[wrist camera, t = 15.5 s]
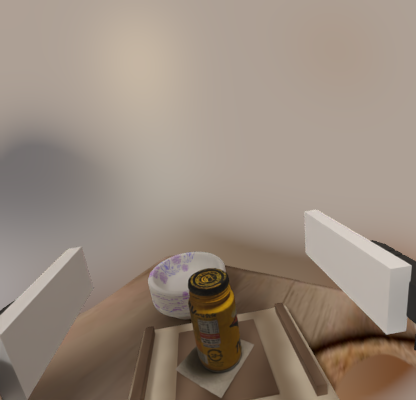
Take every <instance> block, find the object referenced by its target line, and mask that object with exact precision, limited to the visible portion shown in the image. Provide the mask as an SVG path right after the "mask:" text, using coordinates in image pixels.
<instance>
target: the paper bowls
mask: <svg viewBox="0 0 416 400" xmlns="http://www.w3.org/2000/svg"><path fill="white" fill-rule="evenodd" d="M207 268H217V269H221V270H223V271H224V272H226V269H225V264H224V262H223V261H222V260H221V258H219V257H218V256H216V255H214V254H211V253H207V252H188V253H183V254H179V255H176V256H173V257H171V258H168V259H166V260H164V261H163V262H161V263H160V264H158V265H157V266H156V267H155V268H154V269H153V270H152V271H151V273H150V275H149V278H148V285H149V289H150V292H151V296H152V301H153V304H154V306H155V308H156V309H157V310H158V311H159V312H161V313H162V314H164V315H167V316H170V317H176V318H179V319H191V316H190V311H189V305H188V300H189V297H190V296H189V289H188V280H189V278H190V276H191V275H193V274H194V273H196V272H197V271H200V270H203V269H207Z"/></svg>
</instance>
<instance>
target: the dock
mask: <svg viewBox="0 0 416 400" xmlns="http://www.w3.org/2000/svg"><path fill="white" fill-rule="evenodd" d="M237 318H238V326H239V332H240V339H241V340H244V341H247V342H249V343H251V344H254V346H253V348H252V350H251V351H250V353H249V355H248V356H247V358H246V360H245V361H244V363H243V364H242V366H241V368H240V369H239V371H238V372H237V374H236V375H235V377H234V379H233V380H232V382H231V383H230V385H229V387H228V388H227V390H226V391H225V393H224V395H223V396H222V398H220V397H218V396H217V395H215V394H213V393H211V392H210V391H208V390H207V389H205V388H203V387H201V386H200V385H198V384H196V383H195V382H193V381H191V380H190V379H189V378H187V377H185V376H184V375H182V374H181V373H180V372H178V371H176V370H175V369H176V368H177V367H178V366H179V364H180V363H181V362H182V361H183V360H184V359H185V358H186V357H187V356H188V355H189V353H190V352H191V351H192V350H193V349H194V348H195V347H196V341H195V336H194V331H193V326H192V323H189V324H183V325H178V326H173V327H167V328H162V329H156V330H154V327H147V328H146V330H145V332H143V336H142V341H141V345H140V349H139V354H138V358H137V362H136V367H135V371H134V375H133V380H132V384H131V388H130V393H129V397H128V400H340V399H339V398H338V396H337V394H336V393H335V391H334V389H333V387H332V386H331V384H330V382H329V380H328V379H327V377H326V375H325V373H324V372H323V370H322V368H321V366H320V365H319V363H318V361H317V359H316V358H315V356H314V354H313V352H312V351H311V349H310V347H309V345H308V344H307V342H306V340H305V338H304V337H303V335H302V333H301V332H300V330H299V328H298V326H297V325H296V323H295V321H294V319H293V318H292V316H291V314H290V312H289V311H288V309H287V307H286V306H283V304H282V303H277V304H275V308H270V309H265V310H259V311H254V312H248V313H243V314H238V315H237ZM215 377H216V376H215Z"/></svg>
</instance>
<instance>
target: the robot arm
mask: <svg viewBox="0 0 416 400" xmlns="http://www.w3.org/2000/svg"><path fill="white" fill-rule="evenodd" d="M304 218H305V246H306V254H307V255H308V256H309V257H310V258H311V259H312V260H313V261H314V262H315V263H316V264H317V265H318V266H319V267H320V268H321V269H322V270H323V271H324V272H325V273H326V274H327V275H328V276H329V277H330V278H331V279H332V280H333V281H334V282H335V283H336V284H337V285H338V286H339V287H340V288H341V289H342V290H343V291H344V292H345V293H346V294H347V295H348V296H349V297H350V298H351V299H352V300H353V301H354V302H355V303H356V304H357V305H358V306H359V307H360V308H361V309H362V310H363V311H364V312H365V313H366V314H367V315H368V316H369V317H370V318H371V319H372V320H373V321H374V322H375V323H376V324H377V325H378V326H379V327H380V328H381V329H382V330H383V331H384V332H385V333H386V334H392V333H397V332H403V331H406V326H407V317H408V318H409V319H411V320H412V321H413V322H414V323H415V324H416V261H414V260H412V259H410V258H409V257H407V256H405V255H402V253H400V252H398V251H395V250H394V249H393V248H391V247H389V246H387V245H386V244H383V243H379V242H377V241H373V240H372V241H369V240H367V239H366V238H364V237H363V236H361V235H359V234H357V233H356V232H354V231H352V230H350V229H349V228H347V227H346V226H344V225H342V224H340V223H339V222H337V221H335V220H334V219H332V218H330V217H329V216H327V215H325V214H323V213H322V212H320V211H318V210H311V211H305V212H304ZM93 289H94V287H93V284H92V280H91V277H90V273H89V270H88V267H87V263H86V260H85V257H84V253H83V250H82V247H76V248H70V249H67V250H66V251H65V252H64V253H63V254H62V255H61V256H60V257H59V258H58V259H57V260H56V261H55V262H54V263H53V264H52V265H51V266H50V267H49V268H48V269H47V270H46V271H45V272H44V273H43V274H42V275H41V276H40V277H39V278H38V279H37V280H36V281H35V282H34V283H33V284H32V285H31V286H30V287H29V288H28V289H27V290H26V291H25V292H24V293H23V294H21V295H20V297H18V298H17V299H16V300H15V301H13V302H12V303H10V304H9V305H7V306H6V307H4V308H3V309H2V310H1V311H0V395H1V397H2V399H3V400H28V398H29V396H30V395H31V393H32V391H33V390H34V388H35V386H36V385H37V383H38V381H39V380H40V378H41V376H42V375H43V373H44V371H45V369H46V368H47V366H48V364H49V363H50V361H51V359H52V358H53V356H54V354H55V353H56V351H57V349H58V348H59V346H60V344H61V343H62V341H63V339H64V338H65V336H66V334H67V332H68V331H69V329H70V327H71V326H72V324H73V322H74V321H75V319H76V317H77V316H78V314H79V312H80V310H81V309H82V307H83V306H84V304H85V302H86V300H87V299H88V297H89V295H90V294H91V292H92V290H93ZM414 350H416V336H415V346H414Z"/></svg>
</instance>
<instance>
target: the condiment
mask: <svg viewBox="0 0 416 400" xmlns="http://www.w3.org/2000/svg"><path fill="white" fill-rule="evenodd" d="M188 289H189V296H190V297H189V300H188V305H189V311H190V316H191V321H192V326H193V331H194V336H195V341H196V347H195V348H194V349H193V350H192V351H191V352H190V353H189V355H188V356H187V357H186V358H185V359H184V360H183V361H182V362H181V363H180V364H179V366H178V367H177V368H176V369H175V370H176V371H178V372H180V373H181V374H182V375H184V376H185V377H187V378H189V379H190V380H191V381H193V382H195V383H196V384H198V385H200V386H201V387H203V388H205V389H207V390H208V391H210V392H211V393H213V394H215V395H217V396H218V397H220V398H222V396H223V395H224V393H225V391H226V390H227V388H228V387H229V385H230V383H231V382H232V380H233V379H234V377H235V375H236V374H237V372H238V371H239V369H240V368H241V366H242V364H243V363H244V361H245V360H246V358H247V356H248V355H249V353H250V351H251V350H252V348H253V346H254V344H251V343H249V342H247V341H244V340H241V339H240V332H239V326H238V318H237V312H236V305H235V298H234V294H233V291H232V290H231V288H230V285H229V278H228V275H227V273H226V272H224V271H223V270H221V269H217V268H207V269H203V270H200V271H197V272H196V273H194V274H193V275H191V276H190V278H189V280H188ZM215 376H216V377H215Z"/></svg>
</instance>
